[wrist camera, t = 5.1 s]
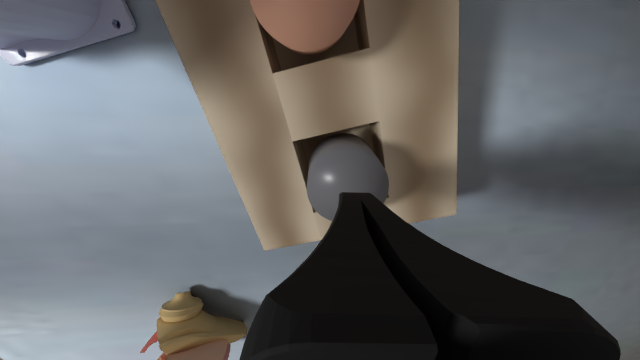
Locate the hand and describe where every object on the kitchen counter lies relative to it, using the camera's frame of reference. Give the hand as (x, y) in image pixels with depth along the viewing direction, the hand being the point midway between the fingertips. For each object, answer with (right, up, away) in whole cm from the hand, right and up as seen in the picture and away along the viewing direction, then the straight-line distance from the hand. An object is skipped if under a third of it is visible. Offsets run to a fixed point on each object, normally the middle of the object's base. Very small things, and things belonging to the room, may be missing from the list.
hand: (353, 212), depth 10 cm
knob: (0, +2, +5) cm, 6 cm away
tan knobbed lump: (-15, -14, +17) cm, 27 cm away
